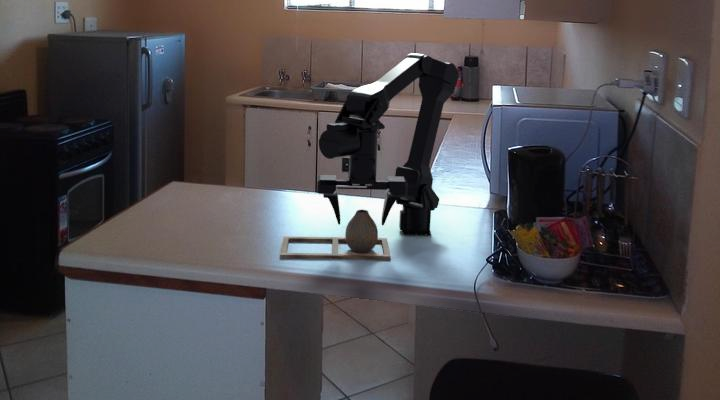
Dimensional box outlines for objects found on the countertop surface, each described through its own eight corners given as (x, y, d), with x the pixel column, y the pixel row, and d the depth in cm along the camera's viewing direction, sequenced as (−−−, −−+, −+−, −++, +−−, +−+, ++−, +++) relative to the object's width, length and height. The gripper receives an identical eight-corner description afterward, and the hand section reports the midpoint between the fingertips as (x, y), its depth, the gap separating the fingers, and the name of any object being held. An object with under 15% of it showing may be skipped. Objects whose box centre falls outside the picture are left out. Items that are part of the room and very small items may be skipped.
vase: (359, 242, 168) (360, 204, 166) (383, 250, 164) (385, 211, 162) (338, 250, 163) (339, 210, 161) (363, 258, 159) (364, 217, 157)
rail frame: (386, 241, 170) (386, 237, 169) (390, 260, 158) (390, 255, 158) (283, 239, 169) (283, 235, 168) (279, 258, 157) (279, 254, 157)
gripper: (404, 145, 166) (401, 214, 170) (318, 143, 165) (317, 212, 169) (409, 156, 155) (406, 229, 159) (317, 154, 154) (316, 228, 159)
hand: (360, 224), depth 162 cm, fingers open, 9 cm apart
